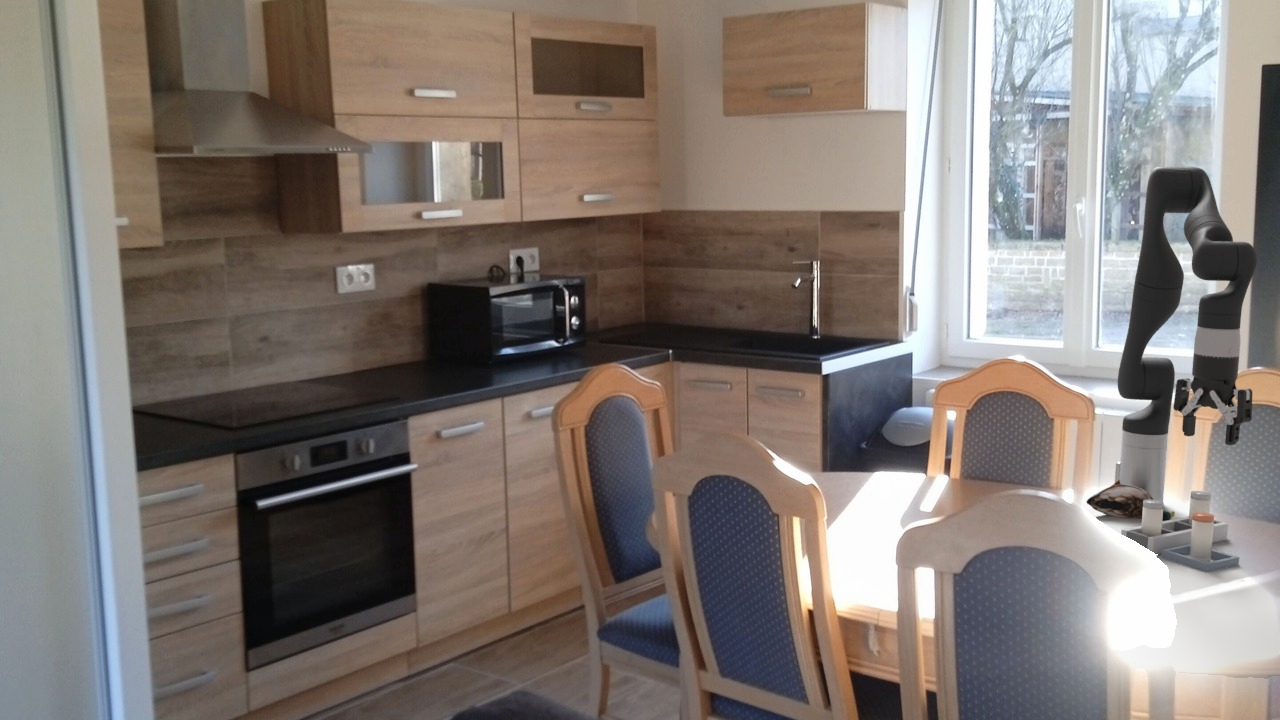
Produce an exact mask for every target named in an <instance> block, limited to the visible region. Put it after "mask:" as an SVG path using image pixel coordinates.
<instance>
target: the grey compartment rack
mask: <svg viewBox="0 0 1280 720" xmlns="http://www.w3.org/2000/svg"><path fill="white" fill-rule="evenodd" d="M1188 523H1189V515H1188V516H1183V517H1178V518H1174V519H1170V520H1167V521H1162V533H1161V535H1157V536H1153V537H1151V536H1148V535H1144V534H1141V526H1142V525H1138V526H1132V527H1127V528H1121V532H1120V535H1121V534H1122V535H1124V536H1126V537H1128V538H1130V539H1132V540H1134V541H1136V542H1137V543H1139V544H1140V545H1142V546H1144V547H1145V548H1147V549H1149V550H1150V551H1152V552H1154V553H1155V554H1158V556H1157V557H1161V554H1162V550H1164V549H1169V548H1174V547H1178V546H1183V545H1188V544H1191V532H1192V525H1191V524H1188ZM1228 527H1229V524H1228V523H1227V522H1223V521H1219V520H1215V519H1214V526H1213V538H1212V545H1215V544H1221V543H1225V542H1229V541H1231V539H1229V538H1228Z"/></svg>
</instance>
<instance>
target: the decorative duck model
mask: <svg viewBox="0 0 1280 720" xmlns="http://www.w3.org/2000/svg"><path fill="white" fill-rule="evenodd" d="M1148 499H1151V500H1153V498H1152V497H1151V496H1150V494H1149V493H1148V492H1146V491H1145V490H1143V489H1141V488H1138V487H1136V486H1132V485H1126V484H1120V480H1118V481H1117V482H1115V481H1114V483H1113V484H1112V485H1110V486H1108V487H1106V488H1104V489H1102V490H1101V491H1098V492H1097V493H1095V494H1093V495H1091V496H1090V497H1088V498H1087V499H1086V504H1087V505H1089V506H1090V507H1092V509H1094V510H1095V511H1097V512H1099V513H1102V514H1103V515H1105V516H1111V517H1117V518H1124V519H1142V512H1143V500H1148ZM1174 516H1175V511H1170V512H1169V511H1168V510H1165V509H1163V519H1162V521H1167V520H1172V519H1171V518H1172V517H1174Z"/></svg>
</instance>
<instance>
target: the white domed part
mask: <svg viewBox="0 0 1280 720" xmlns="http://www.w3.org/2000/svg"><path fill="white" fill-rule="evenodd" d="M1211 499H1212V493H1210V492H1207V491H1204V490H1203V491H1202V490H1191V491H1190V500H1189V501H1190V502H1189V511H1188V512H1189V513H1188V516H1189V523H1188V524H1191V525H1192V519H1193V513H1195V512H1204V513H1209V514H1211V513H1210V511H1211V510H1210V509H1211V501H1212V500H1211Z"/></svg>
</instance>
